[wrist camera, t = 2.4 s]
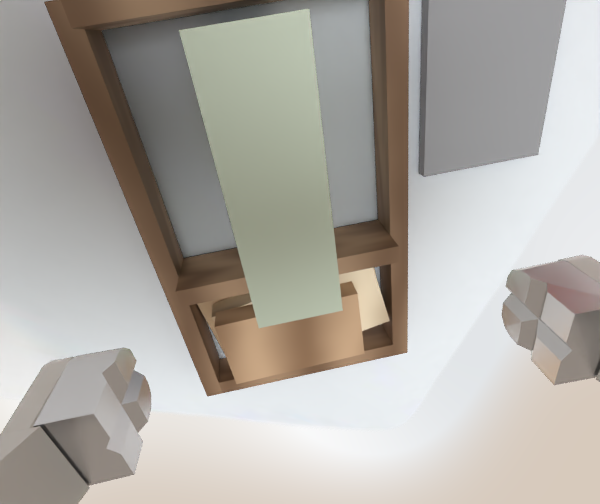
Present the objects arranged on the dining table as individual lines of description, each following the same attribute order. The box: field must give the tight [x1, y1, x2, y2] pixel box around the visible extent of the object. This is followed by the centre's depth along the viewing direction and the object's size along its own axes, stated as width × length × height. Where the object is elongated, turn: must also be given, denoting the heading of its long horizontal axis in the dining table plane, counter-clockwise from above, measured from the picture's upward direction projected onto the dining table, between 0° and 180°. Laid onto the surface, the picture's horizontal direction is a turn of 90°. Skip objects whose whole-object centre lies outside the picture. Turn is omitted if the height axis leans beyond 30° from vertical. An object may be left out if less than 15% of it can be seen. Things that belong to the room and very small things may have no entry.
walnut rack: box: [44, 0, 409, 396], centre depth 24 cm, size 16×26×4 cm, turn 8°
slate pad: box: [419, 0, 566, 177], centre depth 21 cm, size 8×16×1 cm, turn 8°
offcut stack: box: [197, 267, 390, 384], centre depth 28 cm, size 13×7×4 cm, turn 106°
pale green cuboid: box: [179, 9, 343, 328], centre depth 19 cm, size 4×12×10 cm, turn 8°
